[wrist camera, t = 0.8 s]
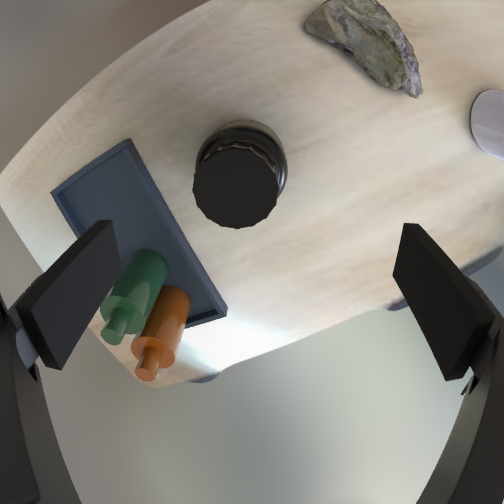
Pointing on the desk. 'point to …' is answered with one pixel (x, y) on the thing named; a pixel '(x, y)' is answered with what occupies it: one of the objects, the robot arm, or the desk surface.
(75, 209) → the tray
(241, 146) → the ink bottle
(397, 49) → the mineral rock
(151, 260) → the green bottle
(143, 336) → the amber bottle
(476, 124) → the soap bottle
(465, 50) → the desk surface
